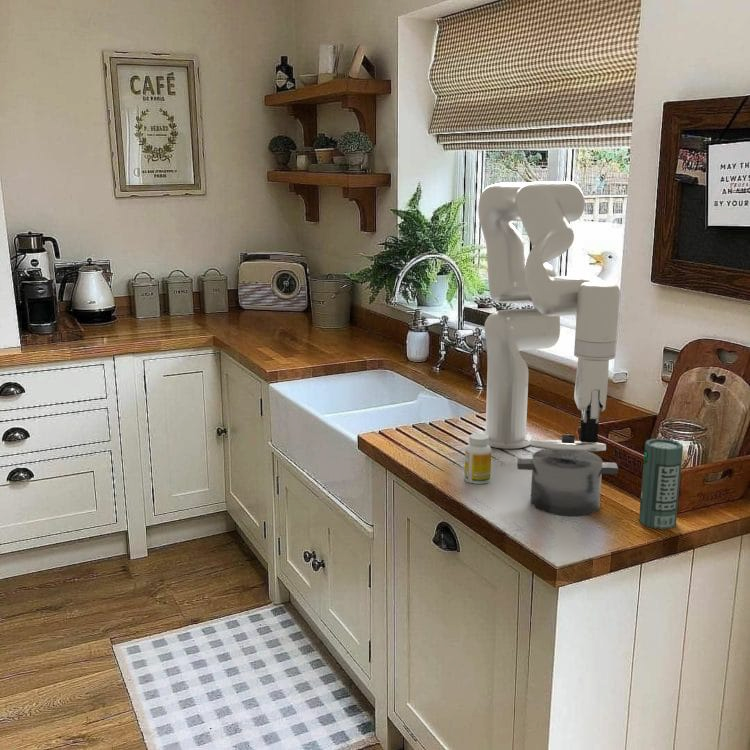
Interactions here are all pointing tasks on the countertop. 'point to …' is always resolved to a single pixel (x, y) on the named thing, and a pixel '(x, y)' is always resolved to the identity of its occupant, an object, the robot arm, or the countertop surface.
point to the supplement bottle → (478, 459)
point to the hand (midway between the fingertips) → (588, 441)
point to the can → (660, 483)
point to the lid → (568, 444)
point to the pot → (566, 481)
